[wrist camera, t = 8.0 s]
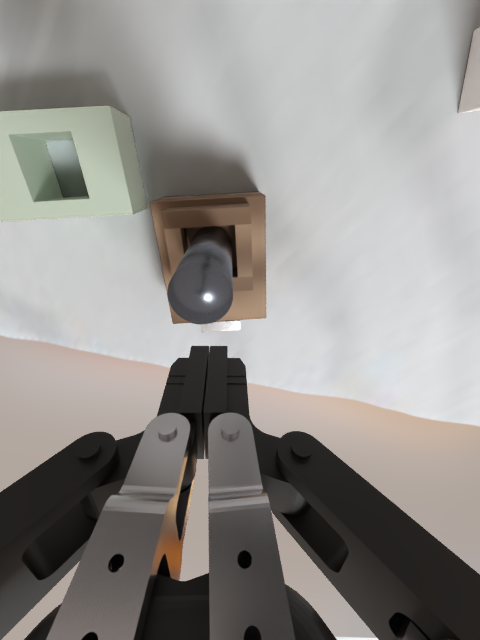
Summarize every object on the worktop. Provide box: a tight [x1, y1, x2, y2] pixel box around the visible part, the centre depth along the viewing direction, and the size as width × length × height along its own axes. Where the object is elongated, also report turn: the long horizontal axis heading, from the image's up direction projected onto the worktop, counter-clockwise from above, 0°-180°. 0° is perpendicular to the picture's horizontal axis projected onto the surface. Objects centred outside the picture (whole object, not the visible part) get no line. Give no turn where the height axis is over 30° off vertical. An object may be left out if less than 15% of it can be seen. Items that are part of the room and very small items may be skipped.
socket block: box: [150, 192, 266, 324], centre depth 28 cm, size 12×10×9 cm
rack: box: [0, 105, 147, 222], centre depth 26 cm, size 8×12×5 cm, turn 93°
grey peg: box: [167, 226, 233, 324], centre depth 21 cm, size 4×4×12 cm
